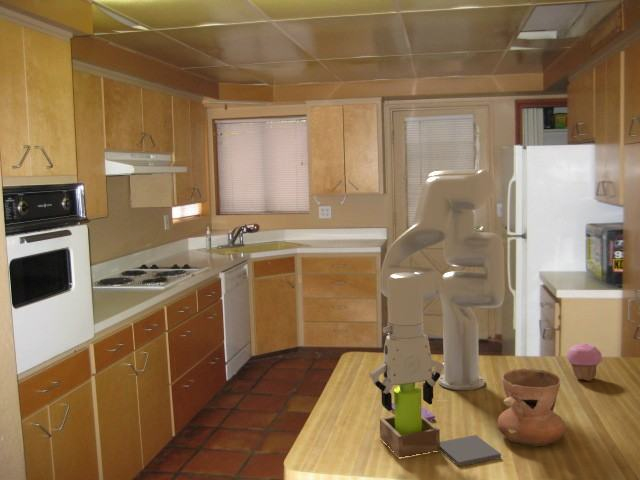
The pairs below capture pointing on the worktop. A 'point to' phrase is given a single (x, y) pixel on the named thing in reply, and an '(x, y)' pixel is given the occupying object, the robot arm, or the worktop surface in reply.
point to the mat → (468, 450)
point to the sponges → (424, 413)
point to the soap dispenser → (407, 409)
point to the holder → (410, 438)
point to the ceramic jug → (531, 407)
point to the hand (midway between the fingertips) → (407, 405)
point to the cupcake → (584, 360)
